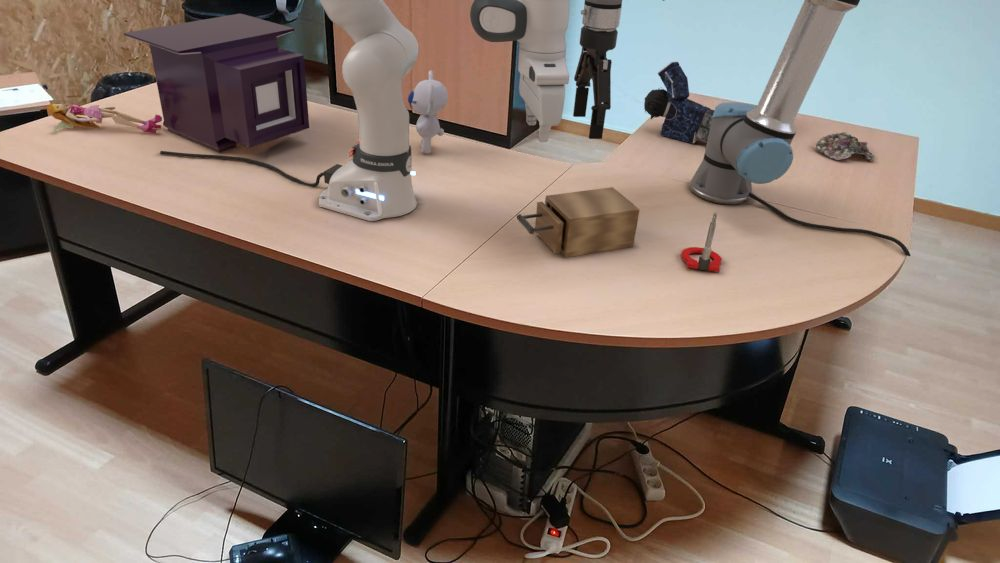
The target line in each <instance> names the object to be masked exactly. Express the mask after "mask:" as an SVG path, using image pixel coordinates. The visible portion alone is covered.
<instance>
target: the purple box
mask: <svg viewBox="0 0 1000 563" xmlns="http://www.w3.org/2000/svg"><path fill="white" fill-rule="evenodd" d="M294 31H295V28H294V27H292V26H287V25H283V24H279V23H276V22H272V21H269V20H264V19H262V18H259V17H256V16H255V17H254V16H252V15H247V14H244V13H235V14H230V15H224V16H217V17H212V18H205V19H200V20H194V21H188V22H181V23H175V24H169V25H163V26H157V27H151V28H146V29H145V28H144V29H139V30H134V31H128V32H123V36H125V37H127V38H130V39H133V40H136V41H138V42H142V43H145V44H148V45H149V50H150V54H151V60H152V66H153V71H154V75H155V76H154V77H155V82H156V87H157V92H158V97H159V102H160V107H161V113H162V120H163V122H162V126H163V127H165V128H166V129H167V131H168V132H170V133H172V134H175V135H177V136H179V137H182V138H184V139H187V140H189V141H191V142H193V143H196V144H197V145H200V146H203V147H205V148H207V149H209V150H212V151H215V152H217V153H219V154H220V153H224V152H227V151H229V150H233V149H235V148H237V144H240V145H242V146H245V147H247V148H249V149H250V148H253V147H256V146H259V145H262V144H266V143H269V142H271V141H275V140H278V139H281V138H285V137H287V136H289V135H293V134H296V133H300V132H302V131H305V130H308V129H310V118H309V105H308V94H307V93H308V92H307V80H306V79H307V78H306V68H305V56H304V54H303V53H302V54H301V53H297V52H296V51H295V52H294V51H291V50H288V49H285V48H282V47H279V44H278V40H277V38H280V37H282V36H286V35H287V34H291V33H292V32H294Z"/></svg>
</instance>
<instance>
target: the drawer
mask: <svg viewBox="0 0 1000 563" xmlns="http://www.w3.org/2000/svg"><path fill="white" fill-rule="evenodd" d="M534 218H535V222H534V227H533V225H532V224H531V223H530V222H529V221H528V219H534ZM516 220H518V222H519V223H520V224H521V225H522V226H523V228H524V229H525V230H526V231H527V232H528V233H529V234H531V235H534V234H535V233H536V234H537V236H539V238H540V239H541V240H542V241H543V242H544V244H546V245H547V247H549V249H551V251H552V252H553V253H554V254H561V252H560V249H561V244H562V245H563V246H564V245H565V237H566V228H567V222H568V221H567V220H566V219H565V218H564V217H563V216H561V215H560V214H559V213H558V212H557V211H556V210H555V209H554V208H553V207H552V206H551V205H550V209H549V208H548V207H547V206H546V205H545V202H543V201H537V202H536V213H532V214H531V213H530V214H525V215H522V213H519V214H517V215H516Z"/></svg>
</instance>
